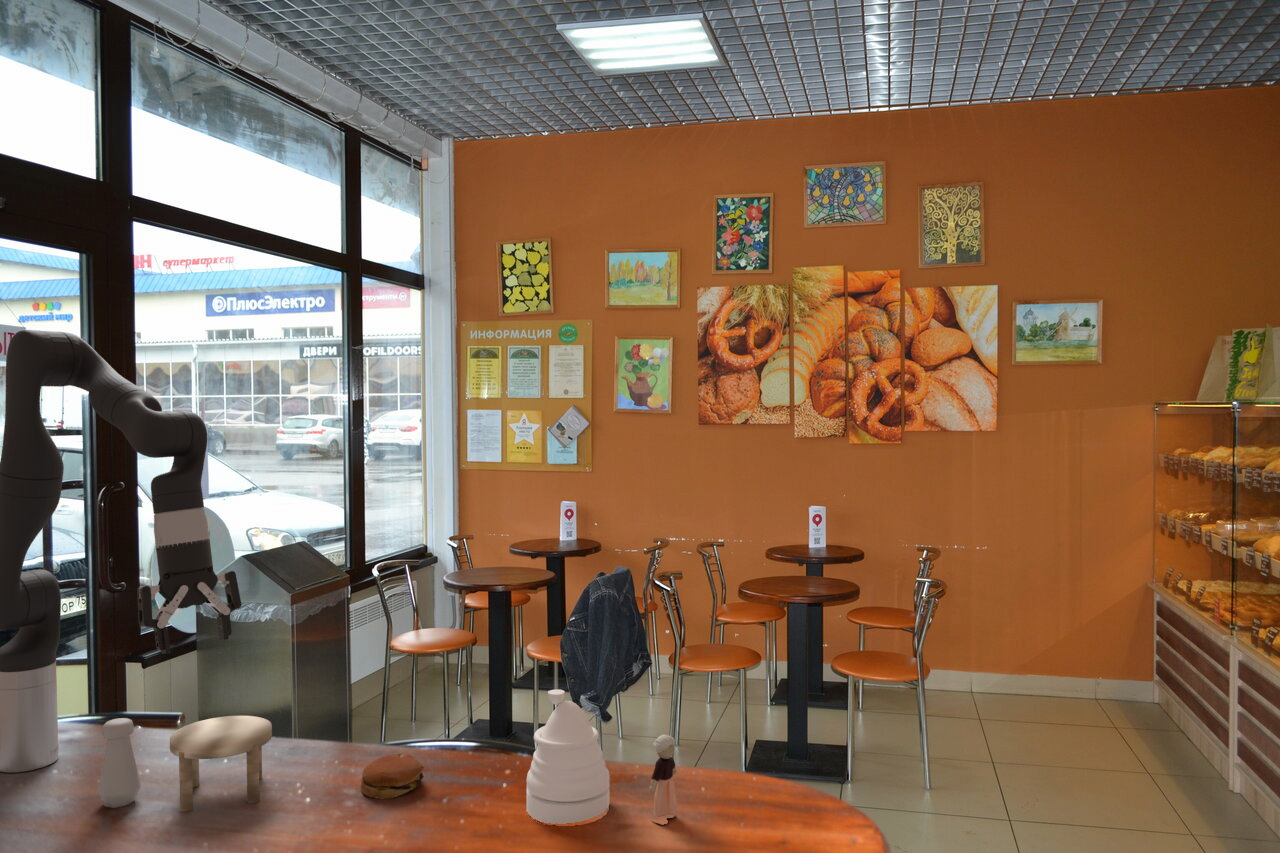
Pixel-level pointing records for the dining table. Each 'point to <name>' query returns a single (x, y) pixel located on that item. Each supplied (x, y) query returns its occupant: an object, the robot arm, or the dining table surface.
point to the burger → (391, 776)
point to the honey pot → (567, 768)
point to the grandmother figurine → (664, 777)
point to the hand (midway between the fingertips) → (195, 646)
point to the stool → (219, 750)
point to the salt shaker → (118, 765)
